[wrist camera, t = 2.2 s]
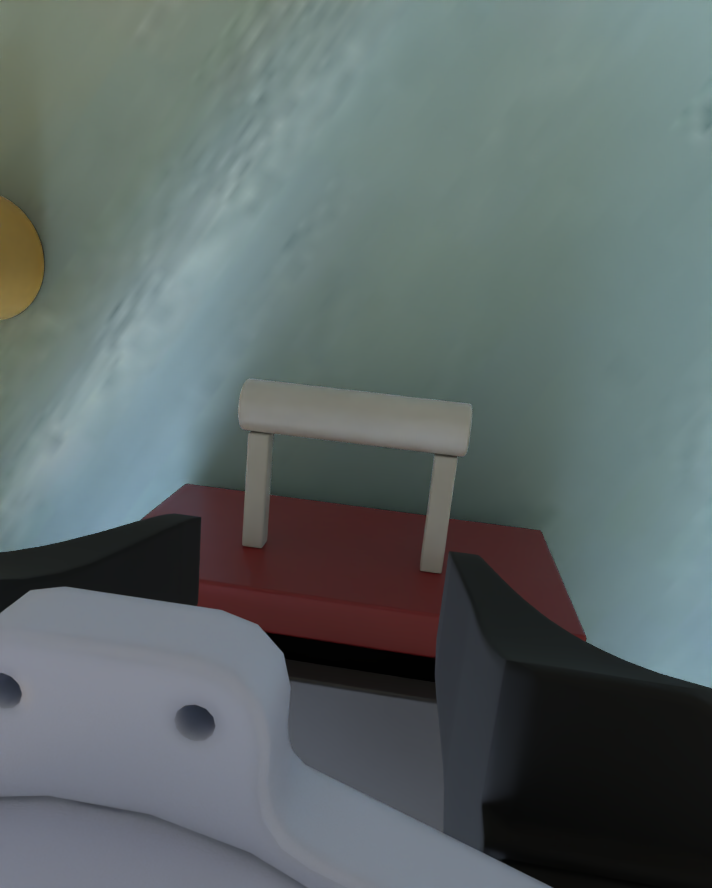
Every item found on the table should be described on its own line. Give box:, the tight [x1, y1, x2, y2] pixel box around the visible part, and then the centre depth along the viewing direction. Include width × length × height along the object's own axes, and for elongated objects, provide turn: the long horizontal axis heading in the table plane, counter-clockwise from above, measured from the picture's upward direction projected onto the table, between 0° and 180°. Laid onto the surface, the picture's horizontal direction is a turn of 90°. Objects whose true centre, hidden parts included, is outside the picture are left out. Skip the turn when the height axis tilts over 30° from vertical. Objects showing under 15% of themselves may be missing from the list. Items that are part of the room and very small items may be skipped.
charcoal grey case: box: [285, 659, 444, 833], centre depth 21 cm, size 15×14×9 cm
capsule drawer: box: [141, 378, 587, 682], centre depth 20 cm, size 18×12×7 cm
